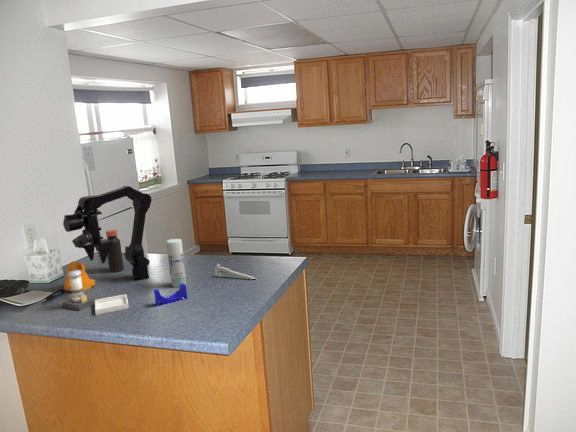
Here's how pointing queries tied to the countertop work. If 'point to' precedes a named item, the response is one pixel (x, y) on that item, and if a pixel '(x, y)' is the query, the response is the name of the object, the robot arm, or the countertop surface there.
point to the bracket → (84, 277)
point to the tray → (111, 304)
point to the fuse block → (79, 303)
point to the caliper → (230, 272)
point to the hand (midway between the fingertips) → (97, 261)
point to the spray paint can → (176, 262)
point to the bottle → (114, 252)
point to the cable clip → (172, 298)
